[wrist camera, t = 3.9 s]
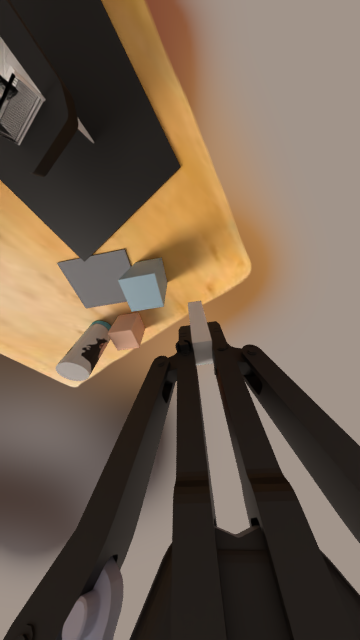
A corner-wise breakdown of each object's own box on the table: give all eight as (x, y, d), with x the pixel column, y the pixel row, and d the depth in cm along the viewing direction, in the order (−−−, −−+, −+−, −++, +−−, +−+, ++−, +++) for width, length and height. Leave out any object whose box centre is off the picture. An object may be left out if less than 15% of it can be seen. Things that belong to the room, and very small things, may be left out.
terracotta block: (126, 331, 44) (117, 350, 37) (118, 315, 41) (107, 333, 34) (145, 328, 44) (139, 347, 37) (138, 312, 40) (131, 329, 34)
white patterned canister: (91, 335, 45) (58, 378, 32) (90, 318, 41) (52, 359, 29) (113, 339, 46) (90, 382, 34) (114, 323, 42) (88, 365, 30)
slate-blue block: (144, 286, 36) (131, 311, 26) (136, 262, 32) (117, 280, 22) (167, 282, 35) (163, 306, 25) (161, 257, 32) (154, 273, 22)
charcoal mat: (86, 307, 39) (85, 308, 39) (58, 262, 32) (56, 263, 32) (142, 298, 38) (142, 298, 37) (124, 249, 31) (124, 249, 30)
